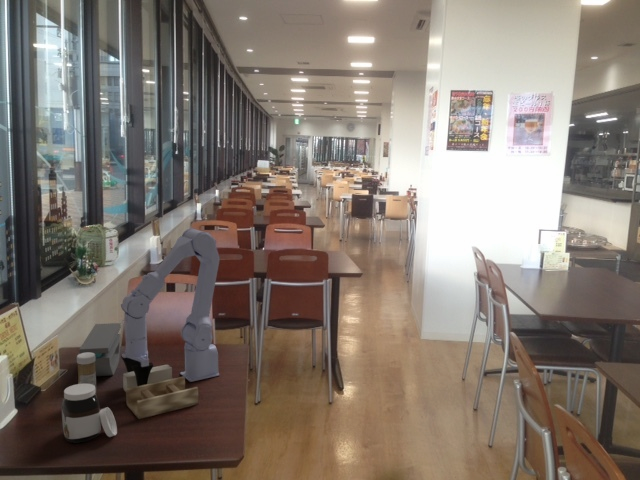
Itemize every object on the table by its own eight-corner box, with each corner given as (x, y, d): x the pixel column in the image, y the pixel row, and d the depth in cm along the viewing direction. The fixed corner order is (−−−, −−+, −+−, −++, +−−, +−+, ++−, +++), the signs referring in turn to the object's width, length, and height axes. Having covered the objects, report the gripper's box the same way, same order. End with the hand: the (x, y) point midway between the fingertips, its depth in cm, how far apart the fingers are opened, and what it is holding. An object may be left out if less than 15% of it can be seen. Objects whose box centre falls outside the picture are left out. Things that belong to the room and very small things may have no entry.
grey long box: (109, 384, 169) (108, 347, 168) (81, 385, 168) (79, 349, 166) (121, 354, 194) (120, 323, 192) (96, 356, 192) (95, 324, 191)
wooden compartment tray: (183, 391, 165) (183, 376, 164) (198, 404, 157) (198, 388, 156) (126, 405, 155) (125, 388, 155) (138, 419, 147) (138, 402, 147)
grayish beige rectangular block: (167, 380, 173) (167, 364, 172) (172, 384, 170) (171, 367, 169) (123, 390, 166) (122, 373, 165) (127, 394, 163) (126, 377, 162)
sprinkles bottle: (82, 399, 159) (79, 351, 157) (99, 399, 159) (97, 351, 157) (76, 406, 154) (74, 357, 152) (94, 406, 155) (92, 357, 153)
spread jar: (59, 432, 140) (56, 386, 139) (107, 419, 147) (105, 375, 145) (73, 452, 131) (70, 403, 129) (123, 438, 138) (121, 391, 136)
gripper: (113, 332, 167) (115, 378, 169) (129, 346, 156) (131, 395, 158) (138, 328, 172) (140, 373, 174) (155, 342, 160) (157, 389, 162)
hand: (137, 383), depth 166 cm, fingers open, 7 cm apart
